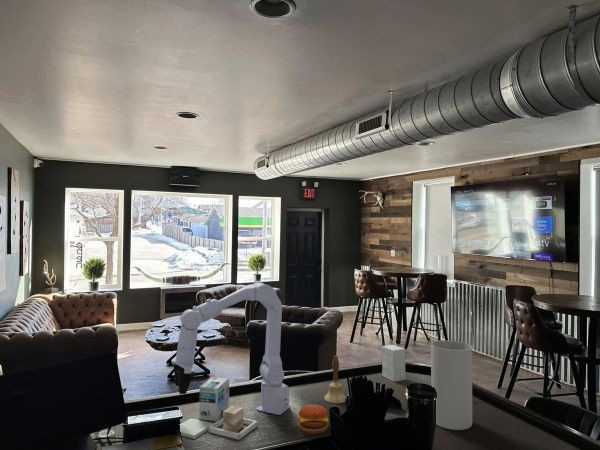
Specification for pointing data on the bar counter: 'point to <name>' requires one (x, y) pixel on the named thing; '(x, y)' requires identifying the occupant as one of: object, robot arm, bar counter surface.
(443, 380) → the cylinder vase
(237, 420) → the ash block
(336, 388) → the hand bell
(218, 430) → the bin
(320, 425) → the hamburger
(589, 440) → the bar counter surface
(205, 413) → the light bulb box
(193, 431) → the board
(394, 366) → the small box
